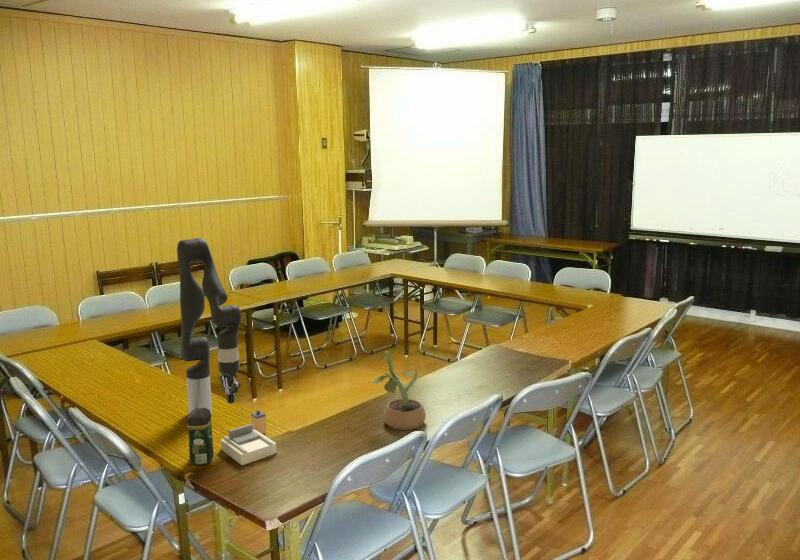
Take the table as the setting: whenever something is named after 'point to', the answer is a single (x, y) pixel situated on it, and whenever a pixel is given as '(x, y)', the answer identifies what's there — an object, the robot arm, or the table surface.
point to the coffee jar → (200, 436)
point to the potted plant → (401, 401)
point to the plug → (259, 421)
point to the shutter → (242, 434)
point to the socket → (249, 448)
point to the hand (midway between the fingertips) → (230, 402)
